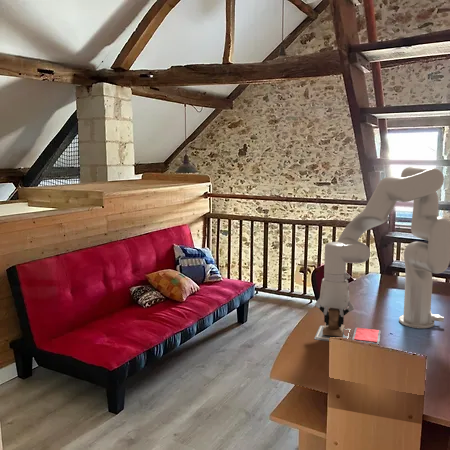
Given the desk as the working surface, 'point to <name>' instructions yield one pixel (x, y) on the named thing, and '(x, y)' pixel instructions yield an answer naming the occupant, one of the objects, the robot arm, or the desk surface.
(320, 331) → the board
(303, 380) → the desk surface
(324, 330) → the stamp
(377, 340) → the ink pad
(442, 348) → the desk surface
